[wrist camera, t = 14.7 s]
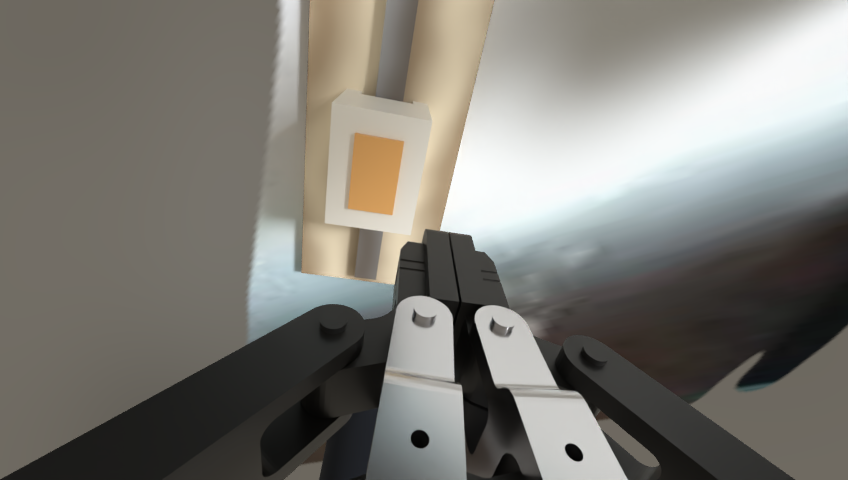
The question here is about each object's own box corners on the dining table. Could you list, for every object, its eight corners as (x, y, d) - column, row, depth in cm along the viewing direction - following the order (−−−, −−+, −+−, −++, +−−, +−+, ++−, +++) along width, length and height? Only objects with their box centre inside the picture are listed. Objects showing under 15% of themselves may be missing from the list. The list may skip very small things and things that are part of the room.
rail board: (498, -29, 24) (505, -34, 23) (425, 282, 37) (426, 294, 35) (315, -75, 23) (308, -83, 21) (304, 266, 35) (298, 278, 33)
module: (427, 103, 27) (432, 122, 22) (409, 200, 31) (410, 237, 26) (346, 88, 27) (330, 103, 21) (339, 189, 30) (323, 225, 25)
